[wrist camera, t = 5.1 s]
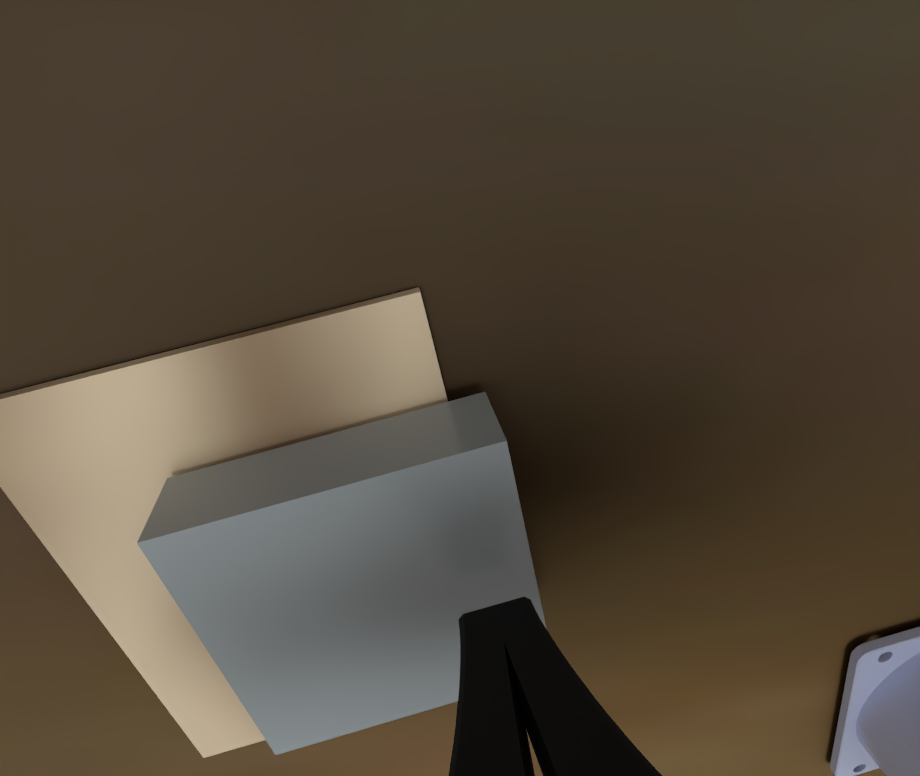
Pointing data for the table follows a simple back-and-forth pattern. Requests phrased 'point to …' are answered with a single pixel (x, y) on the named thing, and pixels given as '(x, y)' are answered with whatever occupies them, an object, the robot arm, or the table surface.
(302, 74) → the table surface
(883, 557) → the table surface
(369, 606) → the square picture frame
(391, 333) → the cork mat
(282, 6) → the table surface
